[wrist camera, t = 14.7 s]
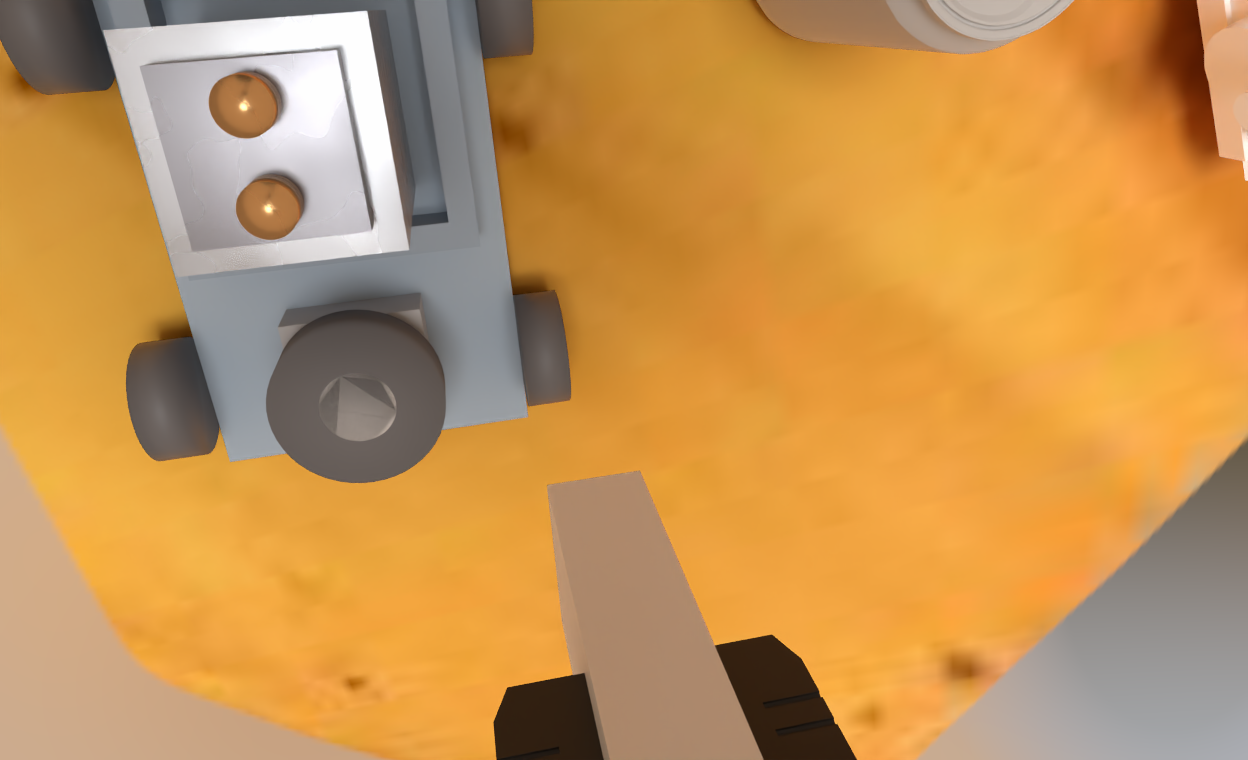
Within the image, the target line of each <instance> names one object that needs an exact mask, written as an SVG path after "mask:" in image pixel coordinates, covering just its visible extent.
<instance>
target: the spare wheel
mask: <svg viewBox="0 0 1248 760" xmlns="http://www.w3.org/2000/svg"><path fill="white" fill-rule="evenodd" d="M266 412H267V417H268V422H269V425H270V427H271V430H272V432H273V434H274V436H275V438H276V440H277V441H278V443H279V444H280V446H281V447H282V448H283V450H284V451H285V452H286V453H287V454H288V455H289V456H290V457H291V458H292V459H293V460H295V461H296V462H297V463H298V464H300V465H301V466H303V467H304V468H306V469H307V470H309V471H311V472H313V473H315V474H317V475H320V476H323V477H325V478H328V479H332V480H336V481H341V482H349V483H367V482H375V481H380V480H385V479H388V478H391V477H394V476H396V475H398V474H401V473H403V472H405V471H407V470H408V469H410V468H411V467H413V466H414V465H416V464H417V463H418V462H419V461H421V460H422V459H423V458H424V457H425V456H426V455H427V454H428V453H429V451H430V450H431V449H432V447H433V446H434V445H435V443H436V441H437V439H438V437H439V436H440V433H441V430H442V428H443V425H444V420H445V414H446V391H445V377H444V372H443V368H442V365H441V362H440V360H439V357H438V355H437V354H436V352H435V350H434V348H433V347H432V346H431V344H430V343H429V342H428V340H427V339H426V338H425V337H424V336H423V335H422V334H421V333H420V332H419V331H417V330H416V329H415V328H413V327H412V326H411V325H409V324H407V323H406V322H404V321H402V320H400V319H398V318H396V317H393V316H391V315H388V314H385V313H381V312H377V311H371V310H358V309H356V310H344V311H339V312H334V313H330V314H327V315H324V316H322V317H320V318H318V319H315V320H313V321H312V322H310V323H309V324H307V325H305V326H304V327H303V328H302V329H300V330H299V331H298V332H297V333H296V334H295V335H294V336H293V337H292V338H291V339H290V340H289V342H288V343H287V345H286V346H285V348H284V349H283V351H282V353H281V356H280V358H279V360H278V362H277V365H276V367H275V369H274V371H273V374H272V376H271V378H270V381H269V385H268V388H267V394H266Z"/></svg>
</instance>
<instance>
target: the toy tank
mask: <svg viewBox="0 0 1248 760" xmlns="http://www.w3.org/2000/svg"><path fill="white" fill-rule="evenodd" d="M1197 6H1198V13H1199V19H1200V26H1201V33H1202V40H1203V47H1204V68H1205V72H1206V75H1207V79H1208V81H1209V88H1210V95H1211V102H1212V109H1213V116H1214V122H1215V129H1216V136H1217V143H1218V150H1219V157H1224V158H1230V159H1235V160H1240V161H1243V167H1244V174H1245V181H1248V0H1197Z"/></svg>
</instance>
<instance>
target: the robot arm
mask: <svg viewBox="0 0 1248 760" xmlns="http://www.w3.org/2000/svg"><path fill="white" fill-rule="evenodd" d="M547 489H548V498H549V507H550V516H551V525H552V534H553V544H554V553H555V562H556V571H557V580H558V589H559V598H560V608H561V617H562V623H563V628H564V633H565V638H566V643H567V648H568V653H569V658H570V663H571V667H572V672H573V675H571V676H565V677H560V678H555V679H550V680H544V681H539V682H534V683H529V684H524V685H518V686H513V687H508V688H507V690H506V692H505V695H504V697H503V700H502V702H501V705H500V707H499V710H498V712H497V715H496V717H495V720H494V734H495V746H496V758H497V760H857V759H856V757H855V755H854V754H853V752H852V750H851V748H850V746H849V744H848V743H847V741H846V739H845V737H844V735H843V734H842V732H841V730H840V728H839V726H838V724H835V722H834V717H833V715H832V714H831V712H830V710H829V708H828V706H827V704H826V703H825V701H824V699H823V697H820V694H819V690H818V688H817V686H816V684H815V683H814V681H813V679H812V677H811V675H810V673H809V672H808V670H807V668H806V666H805V664H804V663H803V661H802V659H801V658H800V657H798V656H797V655H796V654H795V653H794V652H792V651H791V650H790V649H789V648H787V647H786V646H785V645H784V644H783V643H781V642H780V641H779V640H778V639H777V638H775V637H774V636H773V635H767V636H762V637H757V638H752V639H746V640H741V641H736V642H731V643H725V644H720V645H714V643H713V640H712V638H711V636H710V633H709V631H708V629H707V626H706V624H705V622H704V619H703V617H702V615H701V612H700V610H699V608H698V605H697V603H696V601H695V598H694V596H693V594H692V591H691V589H690V587H689V584H688V582H687V580H686V577H685V575H684V573H683V570H682V568H681V566H680V563H679V561H678V559H677V556H676V554H675V552H674V549H673V547H672V545H671V542H670V540H669V538H668V535H667V533H666V531H665V528H664V526H663V524H662V521H661V519H660V517H659V514H658V512H657V510H656V507H655V505H654V503H653V500H652V498H651V496H650V493H649V491H648V489H647V486H646V484H645V482H644V479H643V477H642V475H641V472H640V471H635V472H628V473H622V474H615V475H609V476H602V477H596V478H589V479H583V480H577V481H570V482H564V483H557V484H551V485H547Z"/></svg>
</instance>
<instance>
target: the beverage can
mask: <svg viewBox="0 0 1248 760" xmlns="http://www.w3.org/2000/svg"><path fill="white" fill-rule="evenodd" d="M756 1H757V2H758V4H759V6H760V7H761V9H762V10H763V12H764V13H765V15H766V16H767V17H768V18H769V20H770V21H771V22H773V23H774V24H775V25H776V26H777V27H778V28H780V29H781V30H782V31H784V32H786V33H787V34H789V35H791V36H793V37H796V38H799V39H802V40H805V41H811V42H822V43H834V44H846V45H858V46H870V47H882V48H894V49H906V50H918V51H931V52H943V53H955V54H972V53H980V52H985V51H989V50H992V49H995V48H998V47H1001V46H1003V45H1006V44H1008V43H1010V42H1012V41H1014V40H1015V39H1017V38H1019V37H1020V36H1023V35H1026V34H1029V33H1031V32H1033V31H1035V30H1037V29H1039V28H1041V27H1043V26H1044V25H1046V24H1047V23H1049V22H1050V21H1052V20H1053V19H1054V18H1056V17H1057V16H1058V15H1059V14H1061V13H1062V12H1063V11H1064V10H1065V9H1066V8H1067V7H1068V6H1069V5H1070V4H1071V3H1072V2H1073V1H1074V0H756Z"/></svg>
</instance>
